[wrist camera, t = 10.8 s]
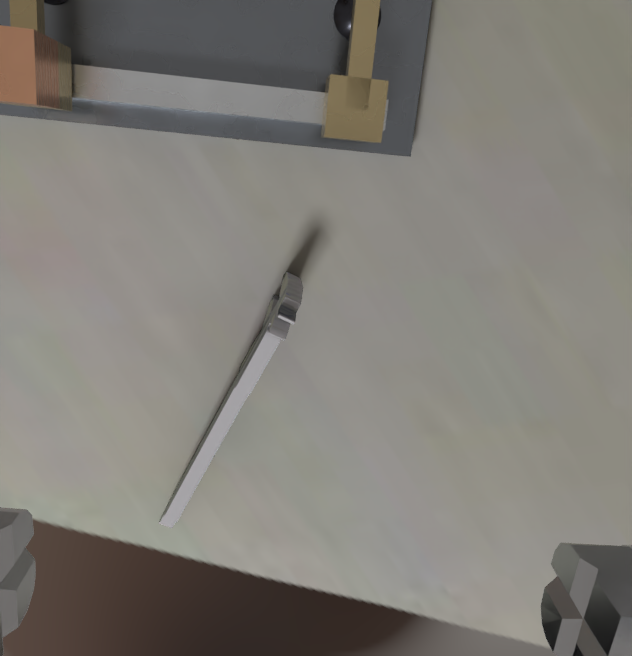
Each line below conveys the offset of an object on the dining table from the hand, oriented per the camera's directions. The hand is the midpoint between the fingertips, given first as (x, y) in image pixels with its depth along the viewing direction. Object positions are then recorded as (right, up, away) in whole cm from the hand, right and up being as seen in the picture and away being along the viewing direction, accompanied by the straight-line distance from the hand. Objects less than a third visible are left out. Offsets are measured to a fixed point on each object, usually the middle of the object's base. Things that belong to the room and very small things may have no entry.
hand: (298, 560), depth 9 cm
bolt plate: (-7, +20, +24) cm, 32 cm away
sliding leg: (-14, +19, +21) cm, 32 cm away
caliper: (-6, -2, +31) cm, 32 cm away
